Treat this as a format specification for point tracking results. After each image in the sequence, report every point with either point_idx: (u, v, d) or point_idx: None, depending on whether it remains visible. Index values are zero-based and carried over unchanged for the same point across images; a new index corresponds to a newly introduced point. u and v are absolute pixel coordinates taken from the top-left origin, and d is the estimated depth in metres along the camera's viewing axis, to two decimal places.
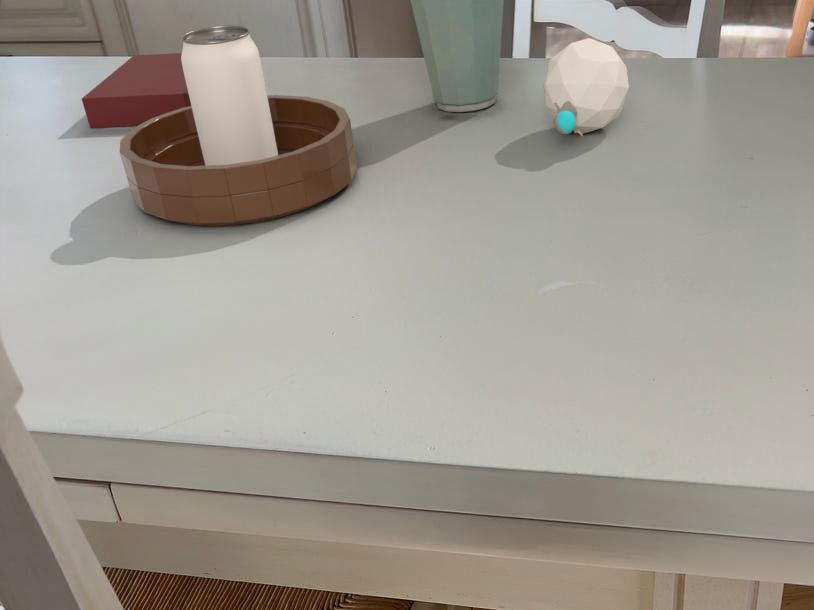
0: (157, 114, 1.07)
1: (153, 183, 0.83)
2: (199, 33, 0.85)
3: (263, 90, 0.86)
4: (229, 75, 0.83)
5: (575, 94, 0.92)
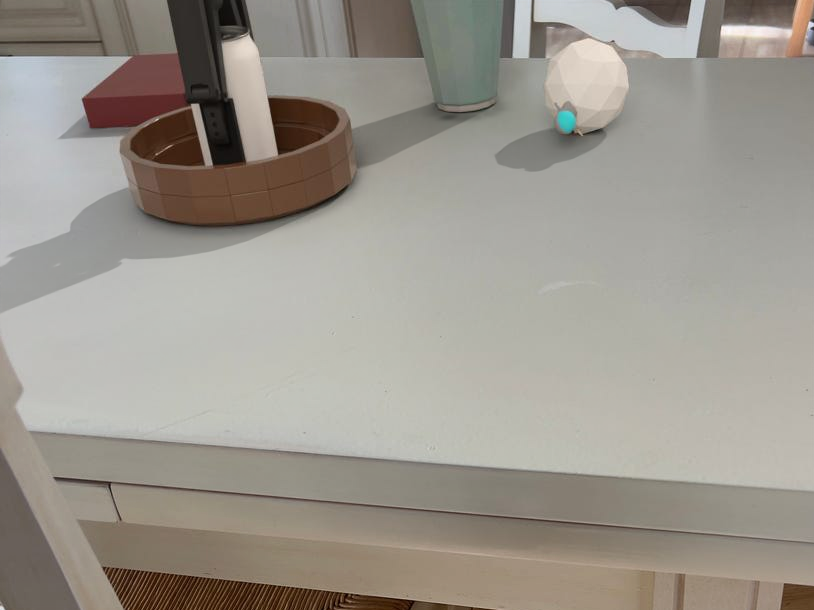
0: (157, 114, 1.07)
1: (153, 183, 0.83)
2: None
3: (263, 90, 0.86)
4: (229, 75, 0.83)
5: (575, 94, 0.92)
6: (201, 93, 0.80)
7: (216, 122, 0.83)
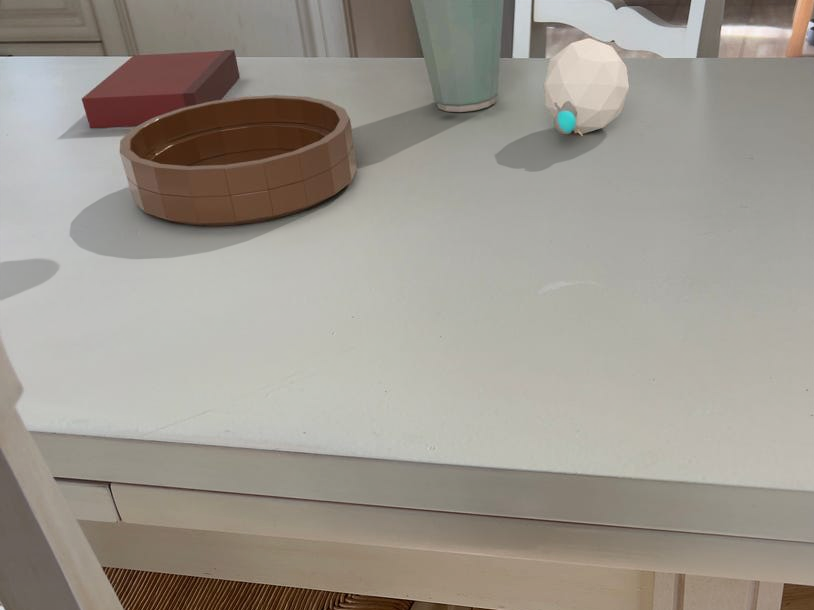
0: (157, 114, 1.07)
1: (153, 183, 0.83)
2: None
3: None
4: None
5: (575, 94, 0.92)
6: None
7: None
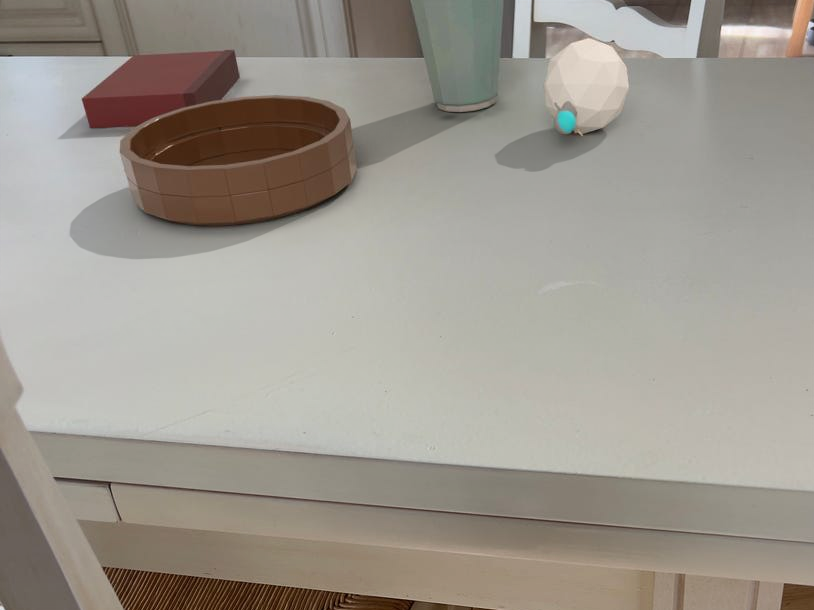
0: (157, 114, 1.07)
1: (153, 183, 0.83)
2: None
3: None
4: None
5: (575, 94, 0.92)
6: None
7: None
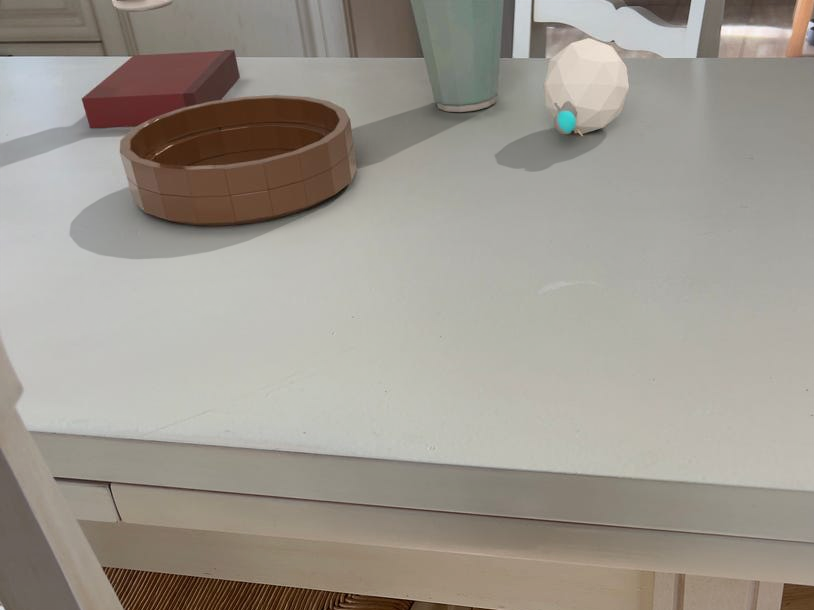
0: (157, 114, 1.07)
1: (153, 183, 0.83)
2: None
3: None
4: None
5: (575, 94, 0.92)
6: None
7: None
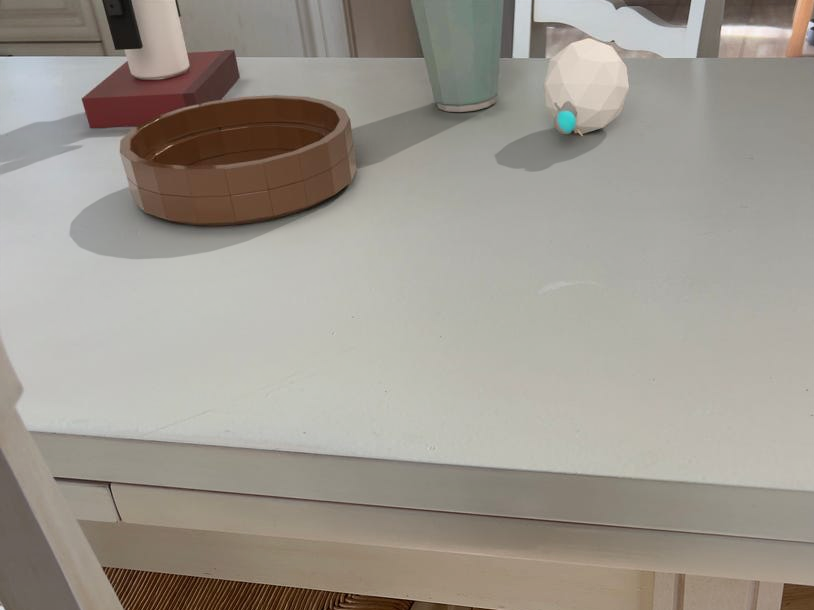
0: (157, 114, 1.07)
1: (153, 183, 0.83)
2: None
3: None
4: None
5: (575, 94, 0.92)
6: None
7: None
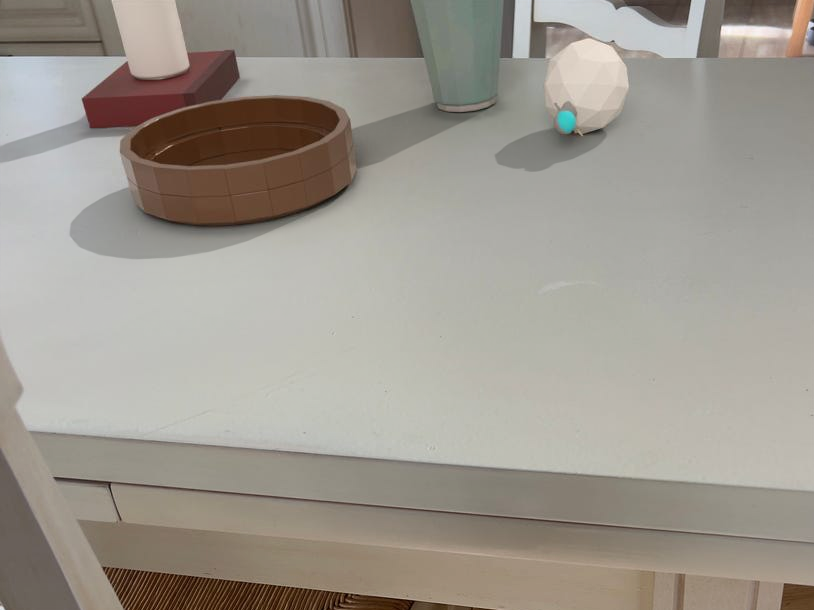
0: (157, 114, 1.07)
1: (153, 183, 0.83)
2: None
3: None
4: None
5: (575, 94, 0.92)
6: None
7: None
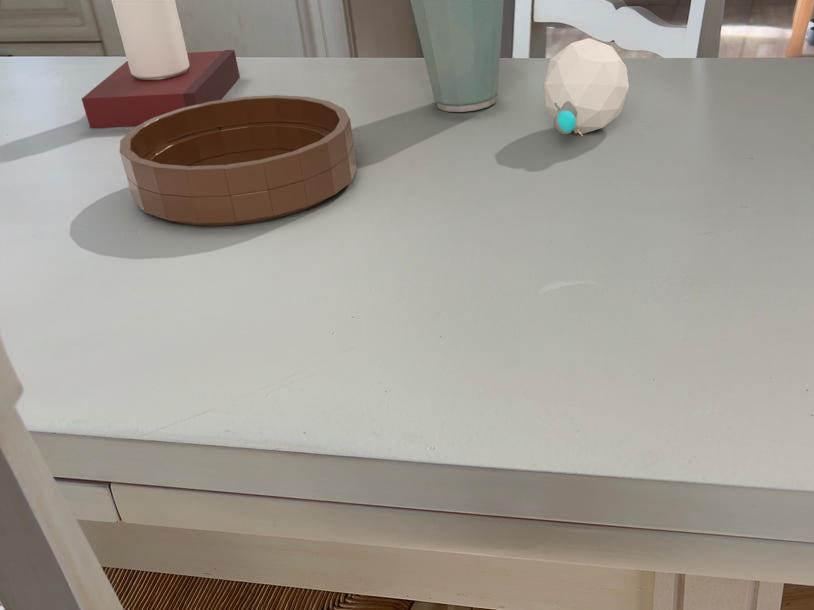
0: (157, 114, 1.07)
1: (153, 183, 0.83)
2: None
3: None
4: None
5: (575, 94, 0.92)
6: None
7: None
